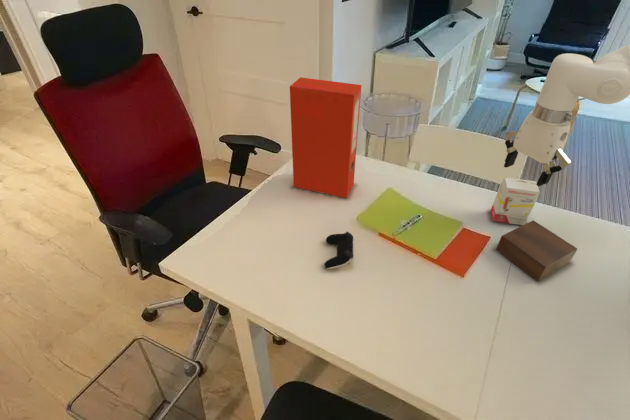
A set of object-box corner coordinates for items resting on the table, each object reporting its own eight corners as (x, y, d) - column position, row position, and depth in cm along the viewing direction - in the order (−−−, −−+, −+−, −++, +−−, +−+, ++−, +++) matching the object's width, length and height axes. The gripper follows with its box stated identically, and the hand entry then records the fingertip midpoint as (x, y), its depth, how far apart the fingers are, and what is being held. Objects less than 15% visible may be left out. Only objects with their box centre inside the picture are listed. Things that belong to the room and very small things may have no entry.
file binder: (303, 174, 122) (300, 76, 102) (353, 184, 118) (361, 84, 98) (293, 187, 117) (289, 86, 96) (346, 198, 112) (353, 95, 92)
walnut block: (526, 234, 100) (533, 220, 96) (569, 263, 91) (578, 248, 88) (495, 249, 95) (501, 235, 92) (537, 281, 87) (545, 267, 84)
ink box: (491, 221, 104) (505, 187, 96) (489, 210, 107) (502, 176, 100) (525, 226, 102) (541, 191, 95) (521, 215, 106) (537, 180, 98)
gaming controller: (334, 277, 91) (356, 264, 88) (322, 267, 89) (344, 254, 86) (335, 246, 99) (356, 233, 96) (324, 236, 97) (344, 223, 94)
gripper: (598, 124, 80) (564, 188, 91) (529, 96, 92) (506, 155, 103) (578, 131, 78) (545, 197, 88) (508, 102, 89) (487, 162, 100)
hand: (524, 174), depth 96 cm, fingers open, 9 cm apart
